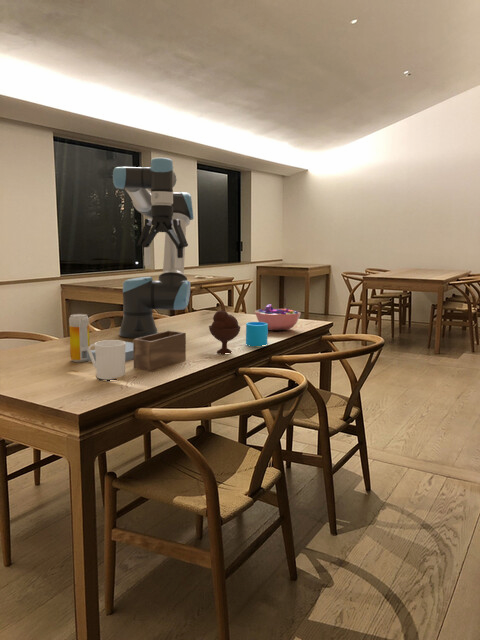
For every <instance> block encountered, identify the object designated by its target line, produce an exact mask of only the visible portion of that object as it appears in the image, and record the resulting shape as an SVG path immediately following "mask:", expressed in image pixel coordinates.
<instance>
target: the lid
mask: <svg viewBox="0 0 480 640" xmlns="http://www.w3.org/2000/svg"><path fill="white" fill-rule="evenodd" d="M125 342H126V348H125V362H128V361H131V360H134V355H133V342H130V341H125ZM91 352H92V355H93V357H94V360H95V362H96V355H95V349H91ZM87 355H88V361H89V362H92V361H91V358H90V355H89V353H88V351H87ZM88 361H87V362H88Z"/></svg>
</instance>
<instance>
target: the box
mask: <svg viewBox="0 0 480 640" xmlns="http://www.w3.org/2000/svg"><path fill="white" fill-rule="evenodd" d="M186 335H187V334H186V332H184V331H183V332H182V331H174V330H164V331H160V332H157V333H156V334H152V335H148V336H144V337H140V338H132V343H133V355H134V359H133V369H136V370H141V371H147V372H154V371H155V372H156V371H158V370H160V369H164V368H166V367H170V366H172V365H175V364H179V363H181V362H185V361H187V360H186V359H187V358H186V357H187V354H186V352H187V351H186V349H187V347H186V346H187V345H186V344H187V339H186Z"/></svg>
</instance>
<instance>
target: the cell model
mask: <svg viewBox="0 0 480 640" xmlns="http://www.w3.org/2000/svg"><path fill="white" fill-rule="evenodd" d="M254 312H255V316H256V319H257V322H264V323H267V324H268V331H288V330H291V329H292V328H293V327H294V326H295V325H296V324H297V323H298V321H299V320H300V316H301V313H302V312H301V311H298V310H297V311H296V310H294V309H289V308H273V307H272V304H270V303H269V304H266V305H265V307H264V308H261V309H256V310H255V311H254Z"/></svg>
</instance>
